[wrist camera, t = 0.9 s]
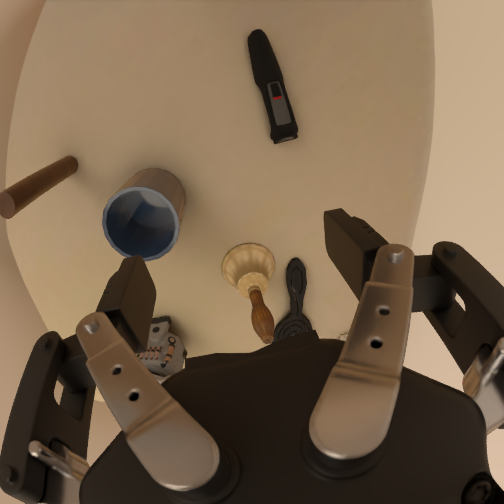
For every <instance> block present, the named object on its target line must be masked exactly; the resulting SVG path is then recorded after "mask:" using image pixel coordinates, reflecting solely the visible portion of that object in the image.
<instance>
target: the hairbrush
mask: <svg viewBox="0 0 504 504" xmlns="http://www.w3.org/2000/svg"><path fill="white" fill-rule="evenodd" d="M297 266H298V267H299V268H298V267H297ZM299 269H300V270H301V272H300V270H299ZM301 276H302V278H301ZM290 278H291V280H290ZM286 281H287V288H288V292H289V296H290V304H291V313H290V314H289V315H287V316H286V317H285V318H284V319H283V320H282V321H281V322H280V323H279V324H277V326H276V328H275V330H274V334H273V341H272V343H274V342H276V341H277V340H278V341H279V340H281V339H283V338H286V337H290V336H292V335H298V334H302V330H303V333H305V332H308V330H309V331H313V329H312V326H311V323H310V321H309V320H308V319H307V318H306V317H305V316H304V315H303V314H302V307H303V299H304V294H305V290H306V285H307V279H306V269H305V267H304V265H303V263H302V262H301V261H300V260H299V259H298V258H294V259H292V260H291V261H290V263H289V265H288V267H287V273H286ZM291 285H292V287H291ZM292 288H293V291H294V294H295V297H296V300H297V303H296V300H295V297H294V294H293V292H292ZM297 307H298V309H297ZM304 322H305V323H306V324H305V323H304ZM306 325H307V327H308V330H307V327H306ZM301 327H302V329H301ZM297 333H298V334H297Z"/></svg>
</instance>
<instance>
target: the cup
mask: <svg viewBox="0 0 504 504" xmlns="http://www.w3.org/2000/svg"><path fill="white" fill-rule="evenodd" d="M184 207H185V192H184V189H183V187H182V185H181V183H180V181H179V180H178V179H177V178H176V177H175V176H174V175H173V174H171V173H170V172H168V171H166V170H163V169H159V168H147V169H144V170H141V171H139V172H137V173H136V174H134V175H133V176H132V177H131V178H130V179H128V180H127V181H126V182H125V184H124V185H123V186H122V187H121V188H120V189H119V190H118V191H117V192H116V193H115V194H114V195H113V196H112V197H111V198H110V199H109V201H108V203H107V205H106V207H105V209H104V211H103V220H102V225H103V229H104V234H105V237H106V238H107V240H108V241H109V243H110V245H111V246H112V247H113V248H114V249H115V250H116V251H117V252H119V253H120V254H121V255H123V256H125V257H127V258H128V257H132V256H136V255H141V256H142V258H143V260H144V261H151V260H155V259H158V258H161V257H162V256H163V255H165V254H166V253H168V252H169V251H170V250H171V249H172V247H173V246H174V244H175V243H176V242H177V238H178V234H179V230H180V225H181V221H182V216H183V212H184Z"/></svg>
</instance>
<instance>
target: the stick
mask: <svg viewBox="0 0 504 504" xmlns="http://www.w3.org/2000/svg"><path fill="white" fill-rule="evenodd" d="M77 166H78V165H77V161H76V159H75V158H74V157H72V156H67V157H65V158H63V159H60V160H58V161H56V162H54V163H52V164H50V165H48V166H47V167H45V168H43V169H41V170H39V171H37V172H35V173H33V174H32V175H30V176H28V177H26V178H24V179H23V180H21V181H19V182H17V183H16V184H14V185H12V186H11V187H9V188H7V189H6V190H5V191H3V192H1V193H0V215H1V216H2V217H4V218H6V219H10V218H12V217H13V216H14V215H15V214H17V213H18V212H19V211H21V210H22V209H23V208H24V207H26V206H27V205H28V204H30V203H31V202H33V201H34V200H35V199H37V198H38V197H39V196H41V195H42V194H44V193H45V192H47V191H48V190H49V189H51V188H52V187H54V186H55V185H57V184H58V183H60V182H61V181H63V180H64V179H66V178H67V177H69V176H71V175H72V174H74V173H75V172H76V170H77Z"/></svg>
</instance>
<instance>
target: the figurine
mask: <svg viewBox="0 0 504 504" xmlns="http://www.w3.org/2000/svg"><path fill="white" fill-rule="evenodd" d="M170 324H171V319H170V317H167V316H165V317H164V318H163V317H160V318H158V319H156V318H154V319H153V320H152V322H151V327H150V333H149V339H148V345H147V351H146V352H145V353H139V354H137V356H138V358H139V359H140V360H141V362H142V363H143V364H144V365H145V366H146V368H147V369H148V370H149V371H150V372H151V374H152V375H153V376H154V377H155V378H156V380H157V381H158V382H159V383H160V384H161V383H162V382H163V381H165V380H166V379H167V378H169V377H170V376H172V375H173V374H175V373H177V372H179V371H181V370H183V369H182V368H183V364H184V360H185V359H186V356H187V351H186V350H185V347H184V345H183V344H182V342H181V340H180V338H179V337H177V336H175V335H173V334H171V333H169V332H168V329H169V325H170ZM184 369H185V368H184Z"/></svg>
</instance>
